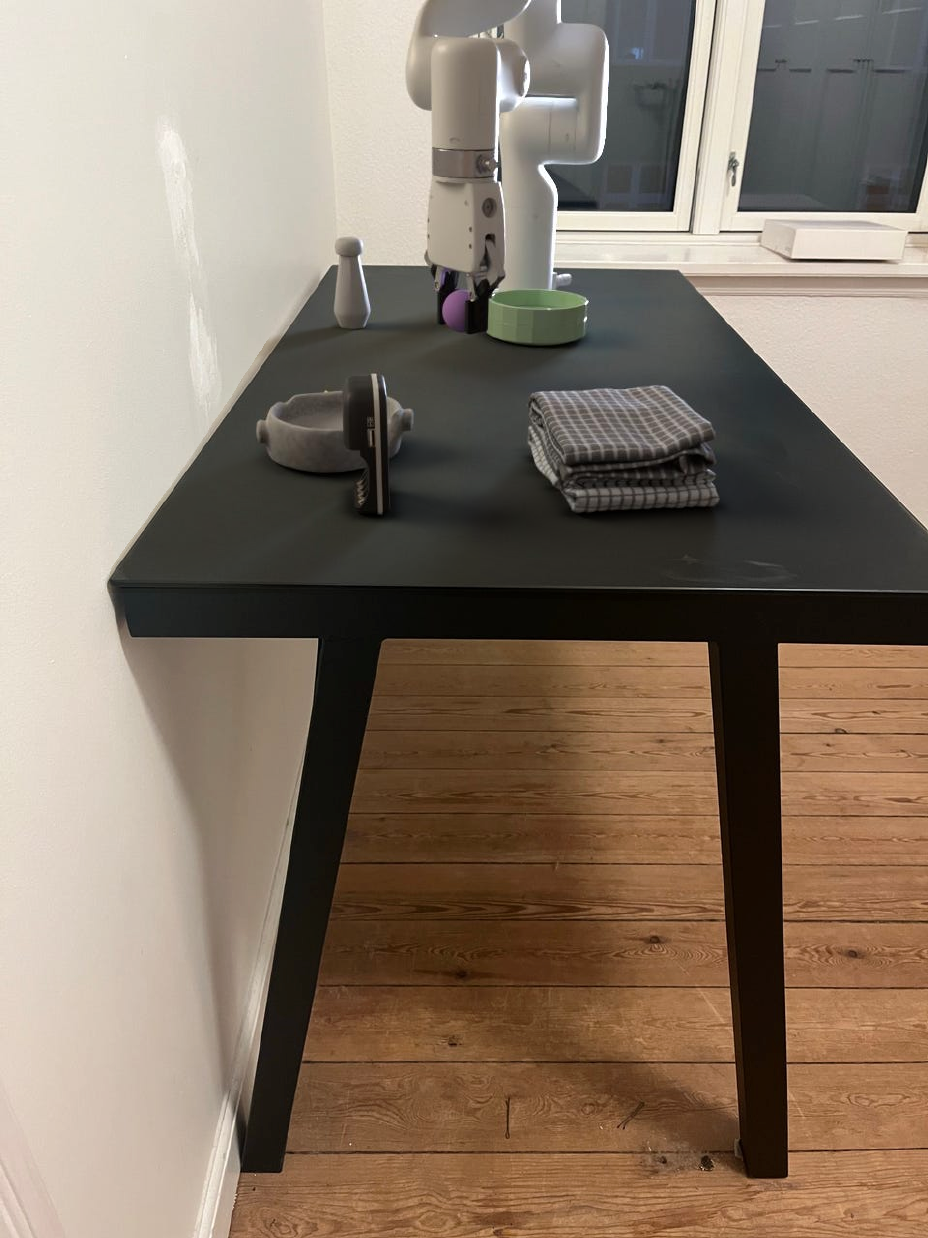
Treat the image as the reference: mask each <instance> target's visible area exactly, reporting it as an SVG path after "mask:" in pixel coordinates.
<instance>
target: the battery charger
mask: <svg viewBox="0 0 928 1238" xmlns="http://www.w3.org/2000/svg"><path fill="white" fill-rule="evenodd" d="M386 388H387V387H386V383H385V377H384V375H382V374H377V373H370V374H355V375H350V376H348V377H347V378H346V379H345V380H344V382H343V385H342V391H343V440H344V444H345V445H346V448H347V449H349V450H355V451H360V457H362V458H363V459H364V460H365V461H366V463H367V464H366V468H364V471H363V473H362V475H361V477H360V478H359V480H358V481H357V482H356V483H355V484H354V485H353V502H354V509H355V511H356V512H357V513H358V514H365V515H379V516H382V515H384V514H389V513H390V511H391V502H390V501H391V500H390V498H391V497H390V496H391V495H390V494H391V493H390V461H389V460H390V458H389V455H388V419H387V396H388V395H387V390H386Z"/></svg>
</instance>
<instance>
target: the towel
mask: <svg viewBox="0 0 928 1238" xmlns="http://www.w3.org/2000/svg"><path fill="white" fill-rule="evenodd" d="M526 410H527V413H528V415H527V419H528V421H529V424H530V425H529V426H528V427H527V429H526V430H527V437H526V438H527V439H526V442H527V445H528V447H529V448H530V450H531V454H532V457H533V461H534V464H535V466H536V467H537V470H538V471H539V472H540V473H541V474H542V475H543V476H544V477H546V478H547V479H548V480H549V481H550V483H551V485H552V486H553V487H554V488H555V489H557V490H559V491H560V492H561V494H562V495H563V497H564V498H565V500H566V502H567V503H568V505H569V507H570V509H571V511H572V512H573V513H578V514H579V513H584V512H585V513H593V512H596V511H597V512H606V511H607V510H608V511H616V510H620V511H627V510H640V509H642V510H650V509H652V508H653V509H654V508H655V509H661V508H668V509H673V508H676V509H683V508H686V507H689V508H694V507H702V508H706V507H715V506H716V505H717V504H718V503H719V501H720V496H719V493H718V492H717V488H716V486H715V484H714V483H713V481H715V479H717V474H716V472H714V471H712V470H710V469H711V468H713V467H714V466H715V465H716V464H717V459H716V457H715V453H714V451H713V449H712V448H711V447H710V446H709V445H708V444H707V443H708V442H711V441H713V440H715V439H717V438H718V432H717V430H715V429H714V428H713V424H712V422H711V421H709V420H707V419H706V418H705V417H703V416H702V415H700V414H699V413H698V412H696V411H695V410H694V408H692V407H691V405H689V404H688V402H687V401H686V400H684V399H682V398H681V397H680V396H678V395H677V394H676V393H675V392H674V391H673V390H672V389H671V388H670V387H668V386H666V385H658V384H657V385H656V384H652V385H649V386H637V387H629V388H626V389H624V388H617V389H614V388H611V387H610V388H595V389H584V390H560V391H559V390H551V391H547V390H543V391H542V390H541V391H535V392H532V393H530V394H529V398H528V401H527V404H526Z"/></svg>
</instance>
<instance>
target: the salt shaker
mask: <svg viewBox="0 0 928 1238" xmlns="http://www.w3.org/2000/svg"><path fill="white" fill-rule="evenodd" d="M334 250H335V254H336V255H338V265H337V275H336V283H335V295H334V304H333V314H334V317H335V318H336V320H337V322H338V324H339V326H340V327H341V328H342V329H350V330H351V329H352V330H355V329H363V328H365V326H366V325H367V321H368V319H369V317H370V315H371V310H372V309H371V304H370V299H369V295H368V291H367V285H366V281H365V275H364V271H363V266H362V261H361V257H360V256H361V255H363V253H364V244H363V241H362V239H361V238H358V237H356V236H342V237H338V238H337V239H336V240H335V242H334Z"/></svg>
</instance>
